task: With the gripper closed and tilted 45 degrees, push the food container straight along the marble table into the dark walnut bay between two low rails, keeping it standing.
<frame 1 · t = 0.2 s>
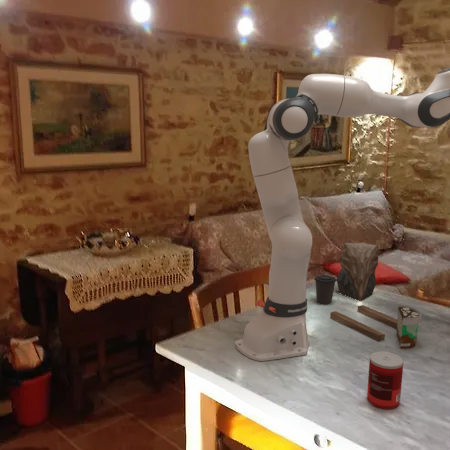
walnut bay: (369, 324, 172), on the table
food container: (408, 343, 158), on the table
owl: (356, 295, 201), on the table
canned food: (383, 401, 126), on the table
coffee cup: (324, 302, 193), on the table
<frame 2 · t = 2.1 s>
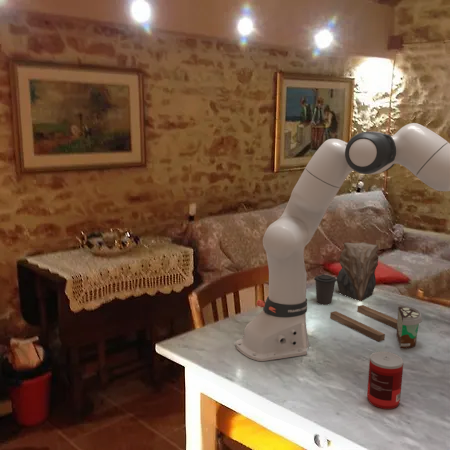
nothing on the table moved.
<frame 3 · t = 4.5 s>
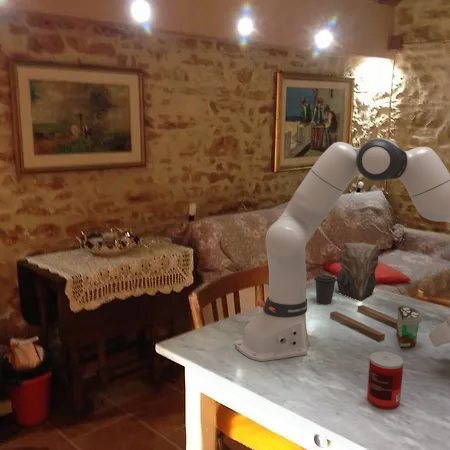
hand: (442, 341, 147), 5 cm above the table, tool tilted 45°, fingers closed
nothing on the table moved.
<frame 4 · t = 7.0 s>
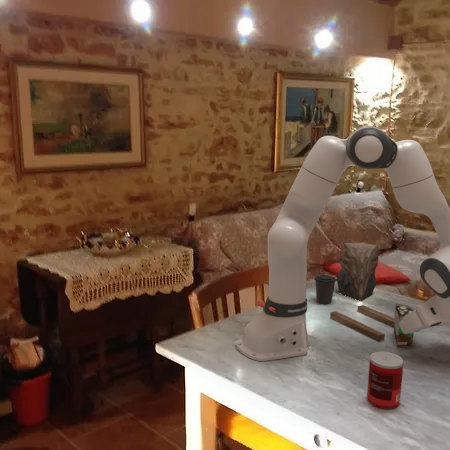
hand: (413, 329, 156), 5 cm above the table, tool tilted 45°, fingers closed
food container: (405, 342, 159), on the table, touching gripper
everything else where it was.
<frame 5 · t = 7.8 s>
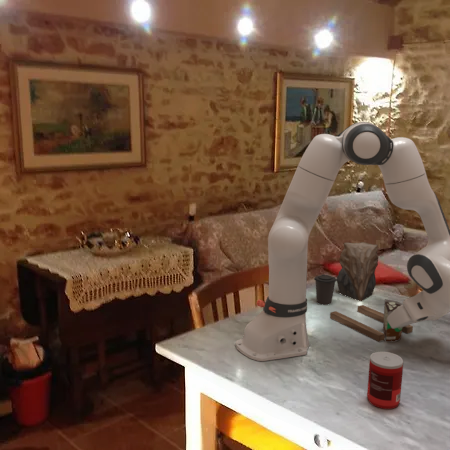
hand: (401, 324, 160), 5 cm above the table, tool tilted 45°, fingers closed
food container: (394, 336, 163), on the table, touching gripper
everything else where it was.
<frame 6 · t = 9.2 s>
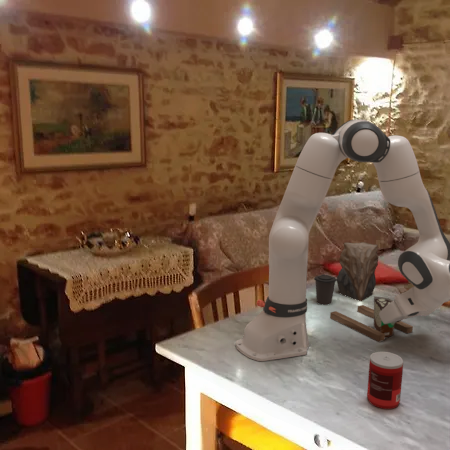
hand: (394, 320, 163), 5 cm above the table, tool tilted 45°, fingers closed
food container: (386, 332, 166), on the table, touching gripper, walnut bay
everything else where it was.
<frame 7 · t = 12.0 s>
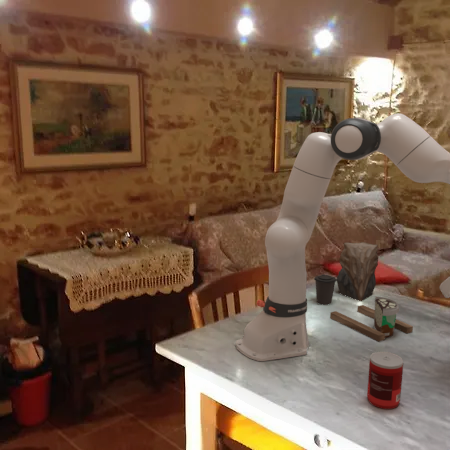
food container: (386, 333, 166), on the table
everything else where it was.
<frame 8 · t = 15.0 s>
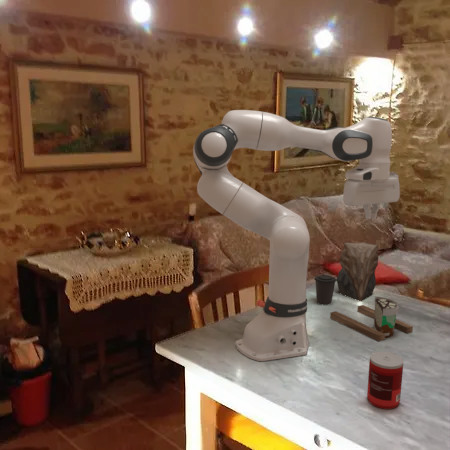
hand: (370, 218, 157), 37 cm above the table, tool pointing down, fingers closed
nothing on the table moved.
at the end: food container inside the target area on the walnut bay (7.1 cm from its centre), point 0.0 cm above the walnut bay's base; food container tilted 0°; food container moved 8.9 cm from its start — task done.
